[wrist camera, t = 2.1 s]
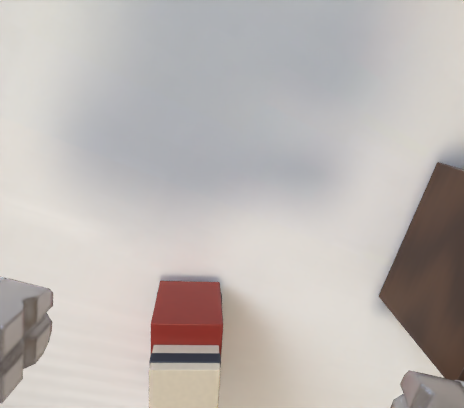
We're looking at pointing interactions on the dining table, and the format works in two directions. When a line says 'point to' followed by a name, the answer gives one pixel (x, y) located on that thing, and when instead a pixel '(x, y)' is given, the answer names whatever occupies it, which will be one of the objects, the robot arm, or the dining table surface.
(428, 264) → the cabinet
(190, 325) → the car
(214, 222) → the dining table surface
